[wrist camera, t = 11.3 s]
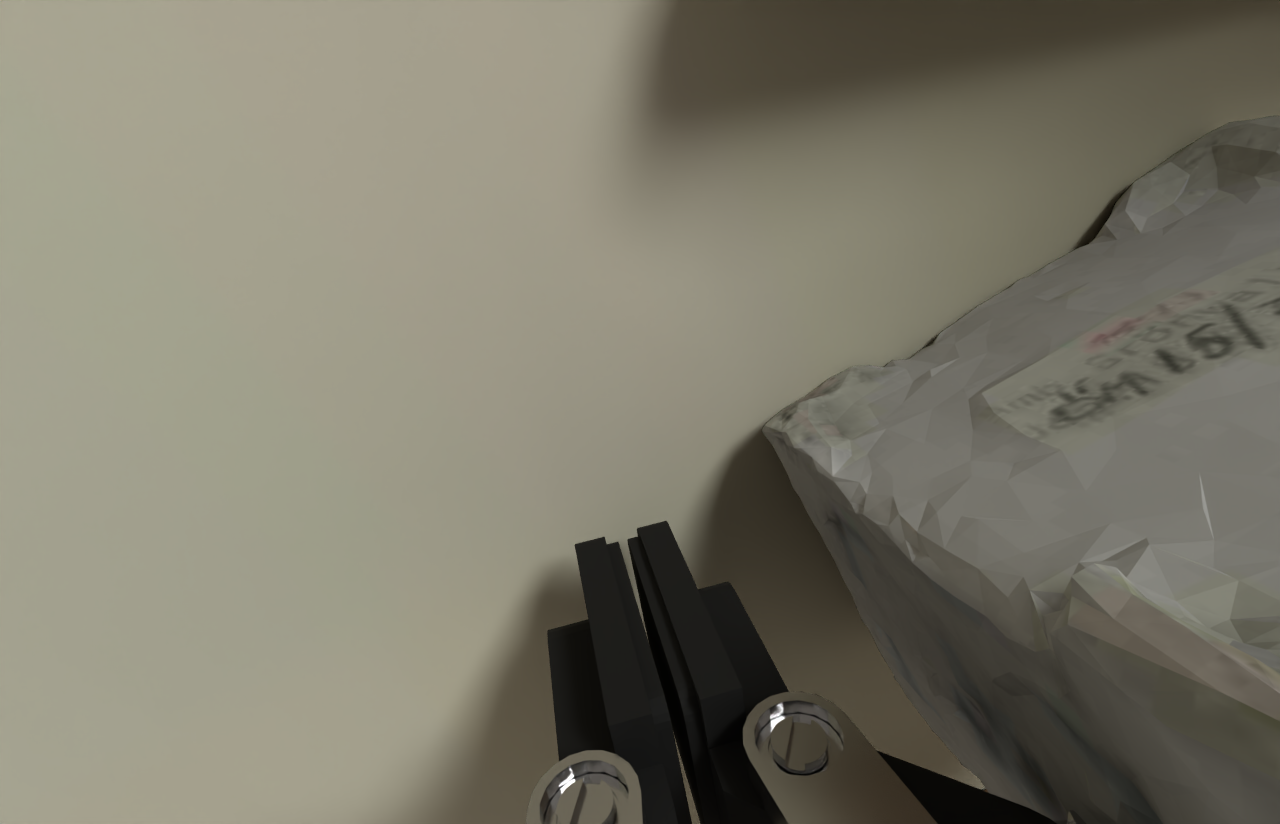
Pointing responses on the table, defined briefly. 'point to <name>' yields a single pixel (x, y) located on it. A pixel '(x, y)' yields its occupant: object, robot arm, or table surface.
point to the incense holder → (1085, 507)
